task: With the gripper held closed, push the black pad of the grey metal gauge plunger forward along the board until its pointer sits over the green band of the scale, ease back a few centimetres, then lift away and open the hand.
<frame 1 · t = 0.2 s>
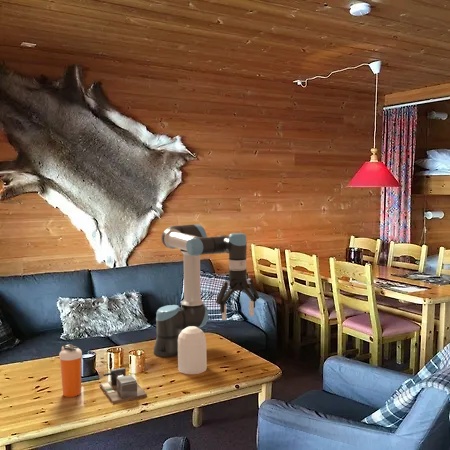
hand: (237, 317, 219), 28 cm above the table, fingers open, 13 cm apart
shaker bottle: (72, 394, 209), on the table
container: (192, 369, 235), on the table
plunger: (117, 379, 211), point 5 cm above the table, slide at 0.0 cm
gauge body: (122, 391, 210), on the table
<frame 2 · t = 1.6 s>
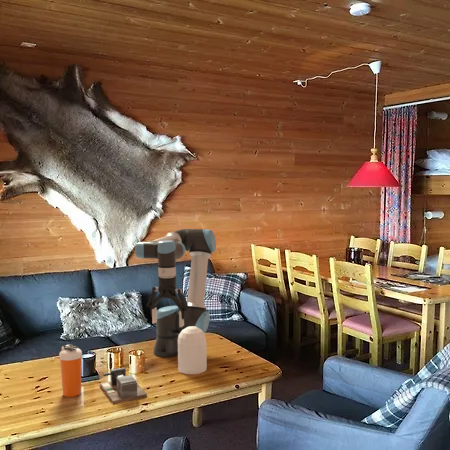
hand: (168, 324, 220), 25 cm above the table, fingers open, 13 cm apart
nothing on the table moved.
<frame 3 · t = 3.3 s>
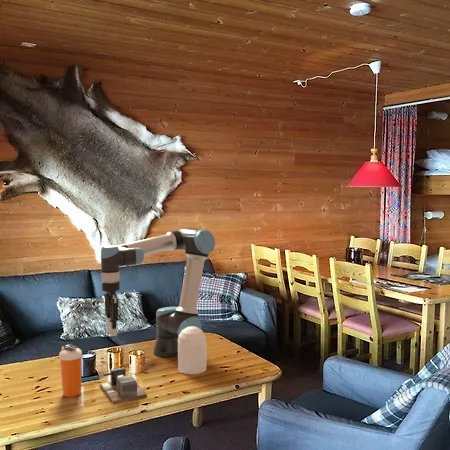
hand: (112, 333, 221), 21 cm above the table, fingers open, 4 cm apart
nothing on the table moved.
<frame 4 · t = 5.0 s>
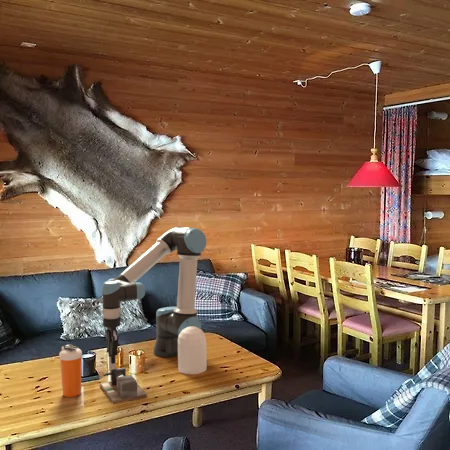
hand: (112, 369, 222), 5 cm above the table, fingers closed
nothing on the table moved.
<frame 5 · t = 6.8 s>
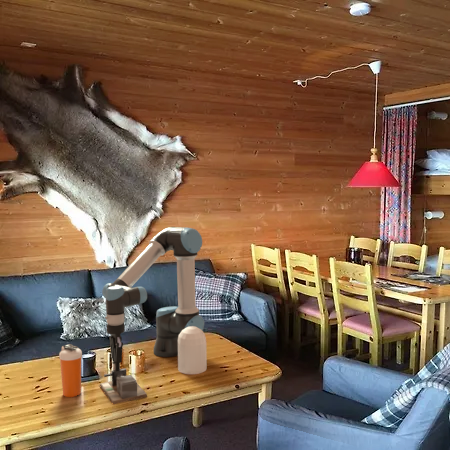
hand: (116, 376, 217), 4 cm above the table, fingers closed
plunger: (117, 380, 210), point 5 cm above the table, slide at 1.2 cm, touching gripper
everything else where it was.
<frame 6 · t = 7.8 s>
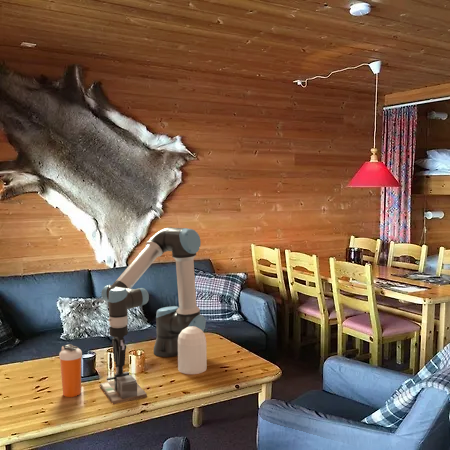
hand: (119, 380, 213), 4 cm above the table, fingers closed
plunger: (120, 384, 206), point 5 cm above the table, slide at 5.4 cm, touching gripper
everything else where it was.
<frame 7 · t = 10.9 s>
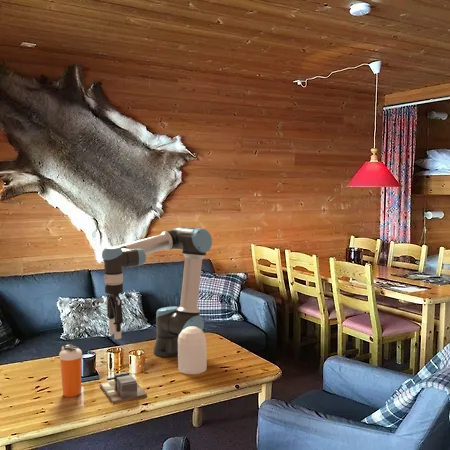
hand: (115, 336, 217), 21 cm above the table, fingers open, 7 cm apart
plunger: (121, 384, 206), point 5 cm above the table, slide at 5.6 cm
everything else where it was.
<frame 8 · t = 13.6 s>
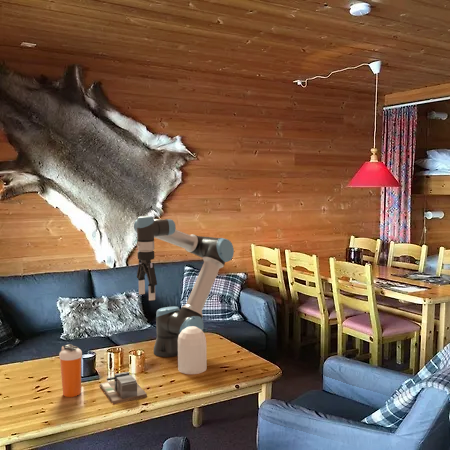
hand: (146, 297, 230), 35 cm above the table, fingers open, 13 cm apart
nothing on the table moved.
at the end: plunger slide at 5.6 cm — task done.
